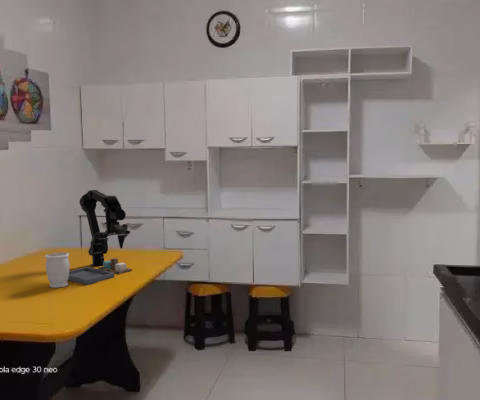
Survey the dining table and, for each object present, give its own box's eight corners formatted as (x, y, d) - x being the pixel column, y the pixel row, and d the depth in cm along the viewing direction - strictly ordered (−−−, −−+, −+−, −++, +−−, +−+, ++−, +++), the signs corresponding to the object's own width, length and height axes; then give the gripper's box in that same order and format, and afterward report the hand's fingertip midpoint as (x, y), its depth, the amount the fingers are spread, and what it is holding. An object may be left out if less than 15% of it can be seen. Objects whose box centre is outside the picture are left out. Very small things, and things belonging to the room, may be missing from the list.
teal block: (103, 269, 264) (103, 261, 264) (109, 267, 267) (109, 260, 267) (108, 270, 262) (107, 262, 261) (114, 268, 265) (113, 261, 264)
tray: (60, 278, 249) (60, 273, 248) (87, 271, 261) (87, 267, 261) (87, 285, 235) (87, 279, 234) (114, 277, 247) (114, 272, 247)
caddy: (98, 271, 264) (97, 258, 263) (110, 268, 270) (109, 255, 269) (119, 276, 253) (119, 262, 252) (132, 272, 259) (131, 259, 258)
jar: (75, 283, 238) (73, 252, 237) (61, 289, 228) (59, 257, 227) (57, 282, 242) (55, 251, 240) (42, 287, 232) (40, 256, 230)
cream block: (115, 271, 258) (114, 264, 258) (121, 270, 261) (121, 262, 261) (120, 272, 256) (119, 265, 255) (126, 271, 259) (126, 263, 258)
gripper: (106, 222, 247) (109, 253, 248) (135, 218, 262) (138, 247, 262) (92, 222, 254) (95, 252, 255) (122, 218, 268) (124, 246, 269)
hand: (114, 249), depth 260 cm, fingers open, 9 cm apart
